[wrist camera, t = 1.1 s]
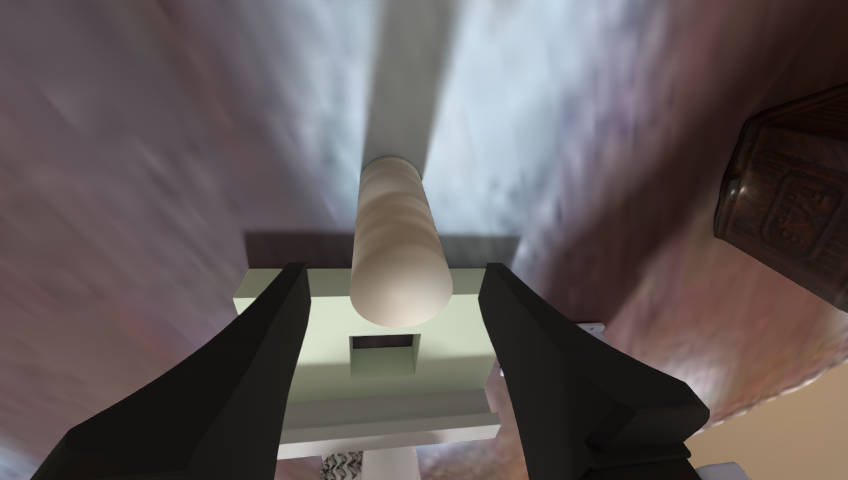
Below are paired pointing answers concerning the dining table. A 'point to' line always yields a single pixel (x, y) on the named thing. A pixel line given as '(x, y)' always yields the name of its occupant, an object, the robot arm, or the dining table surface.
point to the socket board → (383, 372)
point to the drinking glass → (390, 464)
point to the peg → (396, 249)
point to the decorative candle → (342, 466)
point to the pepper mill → (793, 193)
